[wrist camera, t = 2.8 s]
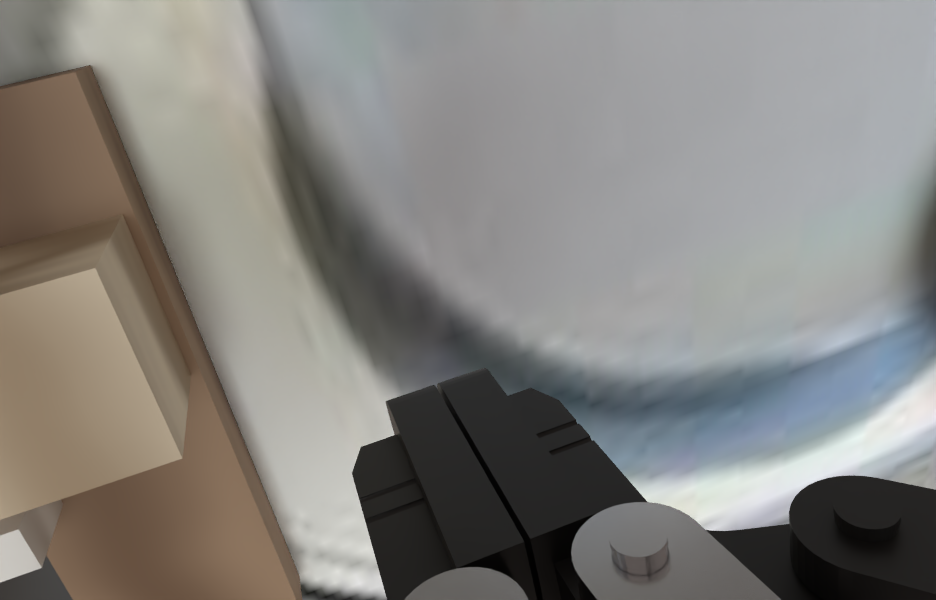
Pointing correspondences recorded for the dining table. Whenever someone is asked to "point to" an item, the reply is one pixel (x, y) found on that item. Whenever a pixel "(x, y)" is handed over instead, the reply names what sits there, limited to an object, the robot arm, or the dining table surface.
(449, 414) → the robot arm
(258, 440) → the dining table surface
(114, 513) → the channel deck
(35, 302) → the birch block
